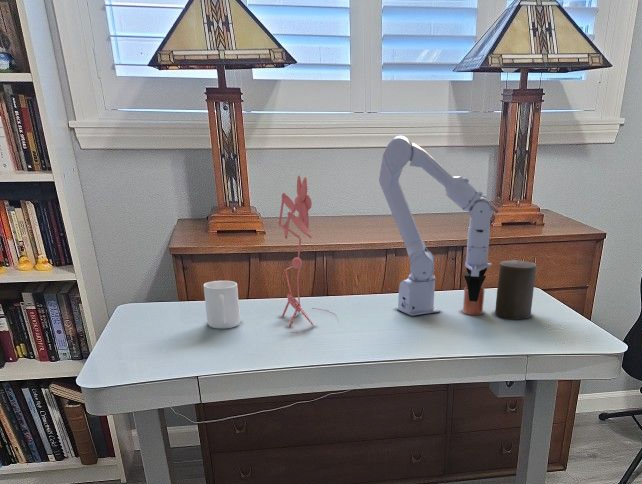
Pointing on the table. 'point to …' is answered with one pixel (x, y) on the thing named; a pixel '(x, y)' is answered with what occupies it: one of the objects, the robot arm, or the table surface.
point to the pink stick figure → (302, 223)
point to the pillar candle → (515, 289)
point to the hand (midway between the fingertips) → (474, 297)
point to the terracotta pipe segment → (473, 303)
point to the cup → (222, 304)
